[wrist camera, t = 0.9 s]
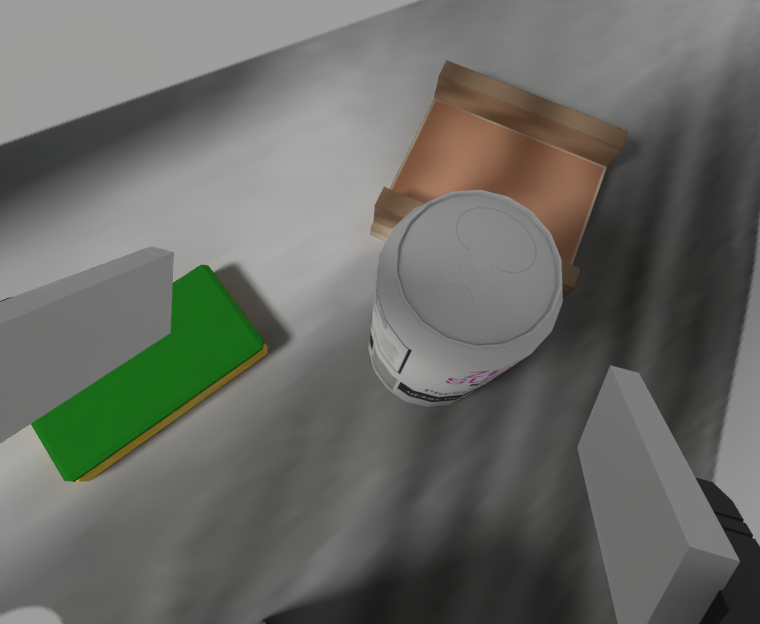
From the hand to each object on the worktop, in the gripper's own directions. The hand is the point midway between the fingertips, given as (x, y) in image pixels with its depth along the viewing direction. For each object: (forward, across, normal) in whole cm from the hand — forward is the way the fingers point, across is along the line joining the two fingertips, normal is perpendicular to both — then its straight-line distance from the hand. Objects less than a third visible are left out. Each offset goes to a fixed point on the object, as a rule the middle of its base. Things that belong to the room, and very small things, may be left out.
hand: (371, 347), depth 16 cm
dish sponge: (+14, -16, -13) cm, 25 cm away
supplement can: (+19, +1, -8) cm, 21 cm away
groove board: (+27, +3, +2) cm, 28 cm away
